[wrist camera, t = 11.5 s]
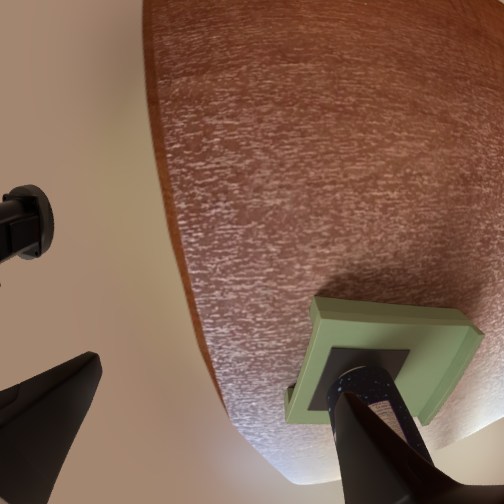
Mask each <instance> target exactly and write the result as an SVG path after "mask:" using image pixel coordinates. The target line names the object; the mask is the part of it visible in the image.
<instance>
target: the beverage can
mask: <svg viewBox="0 0 504 504" xmlns="http://www.w3.org/2000/svg"><path fill="white" fill-rule="evenodd" d="M343 392H354V393H355V394H356V395H357V396H358V397H359V398H360V399H361V400H362V401H363V402H364V403H365V404H366V405H368V406H369V407H370V408H371V409H372V410H373V411H374V412H375V413H376V414H377V415H378V416H379V417H380V418H381V419H382V420H383V421H384V422H385V423H386V424H387V425H388V426H389V427H391V428H392V429H393V430H394V431H395V432H396V433H397V434H398V435H399V436H400V437H401V438H402V439H403V440H404V441H405V442H407V443H408V444H409V445H410V448H411V447H412V448H413V449H414V450H415V451H416V452H417V453H419V454H420V455H421V456H422V457H423V458H424V459H426V460H427V461H428V462H429V463H431V464H432V465H433V466H434V463H433V461H432V459H431V457H430V454H429V452H428V450H427V448H426V445H425V443H424V441H423V439H422V437H421V435H420V433H419V431H418V428H417V426H416V424H415V422H414V420H413V418H412V416H411V414H410V412H409V410H408V408H407V406H406V404H405V402H404V400H403V398H402V396H401V394H400V392H399V390H398V388H397V386H396V384H395V383H394V381H393V379H392V377H391V375H390V373H389V372H388V371H387V370H386V369H384V368H382V367H378V366H362V367H357V368H354V369H351V370H349V371H347V372H345V373H344V374H343V375H341V376H340V377H339V378H338V379H337V380H336V381H335V382H334V383H333V384H332V385H331V387H330V388H329V390H328V392H327V394H326V404H327V408H328V413H329V417H330V422H331V426H332V431H333V436H334V440H335V445H336V431H335V412H334V411H335V406H336V404H337V402H338V400H339V398H340V396H341V394H342V393H343ZM336 450H337V447H336ZM337 455H338V453H337ZM338 460H339V459H338Z"/></svg>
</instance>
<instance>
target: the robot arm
mask: <svg viewBox="0 0 504 504" xmlns="http://www.w3.org/2000/svg"><path fill="white" fill-rule="evenodd" d="M2 199H3V202H2V203H0V264H1V263H3V262H5V261H6V260H8V259H10V258H12V257H14V256H16V255H18V254H24V255H28V256H32V257H36V258H38V257H40V256H41V255H42V250H41V239H40V224H39V198H38V196H37V195H28V194H4V195H3V198H2ZM34 199H35V201H34ZM37 252H38V253H37ZM0 286H1V285H0ZM101 376H102V366H101V362H100V358H99V355H98V354H97V353H94V352H90V351H88V352H86V353H84V354H81V355H79V356H77V357H75V358H73V359H71V360H69V361H67V362H65V363H63V364H60V365H58V366H56V367H54V368H52V369H49V370H47V371H45V372H43V373H41V374H39V375H36V376H34V377H32V378H30V379H28V380H25V381H23V382H21V383H20V384H17V385H14V386H12V387H10V388H8V389H5V390H2V391H0V504H47V503H48V500H49V497H50V495H51V492H52V490H53V487H54V484H55V482H56V479H57V477H58V475H59V472H60V470H61V467H62V465H63V463H64V461H65V458H66V456H67V454H68V451H69V449H70V447H71V445H72V443H73V441H74V438H75V436H76V434H77V432H78V430H79V428H80V426H81V424H82V422H83V420H84V417H85V416H86V414H87V411H88V410H89V407H90V405H91V403H92V400H93V397H94V395H95V392H96V389H97V387H98V384H99V381H100V379H101ZM334 412H335V431H336V447H337V453H338V459H339V465H340V472H341V478H342V484H343V491H344V499H345V504H504V485H487V486H486V485H484V486H483V485H464V484H461V483H459V482H457V481H455V480H453V479H452V478H450V477H449V476H447V475H446V474H444V473H443V472H442V471H440V470H439V469H437V468H436V467H435V466H433V465H432V464H431V463H429V462H428V461H427V460H426V459H424V458H423V457H422V456H421V455H420V454H419V453H417V452H416V451H415V450H414V449H413V448H412V447H411V448H410V445H409V444H408V443H407V442H405V441H404V440H403V439H402V438H401V437H400V436H399V435H398V434H397V433H396V432H395V431H394V430H393V429H392V428H391V427H389V426H388V425H387V424H386V423H385V422H384V421H383V420H382V419H381V418H380V417H379V416H378V415H377V414H376V413H375V412H374V411H373V410H372V409H371V408H370V407H369V406H368V405H366V404H365V403H364V402H363V401H362V400H361V399H360V398H359V397H358V396H357V395H356V394H355V393H354V392H343V393H342V394H341V396H340V398H339V400H338V402H337V404H336V406H335V411H334Z"/></svg>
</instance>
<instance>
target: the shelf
mask: <svg viewBox="0 0 504 504" xmlns="http://www.w3.org/2000/svg"><path fill="white" fill-rule="evenodd" d="M309 314H310V318H311V321H312V325H313V332H312V335H311V338H310V342H309V345H308V348H307V352H306V355H305V358H304V361H303V364H302V367H301V371H300V374H299V377H298V380H297V383H296V386H295V388H287V390H286V393H285V396H284V406H285V419H286V423H287V424H331V422H330V417H329V413H328V408H327V404H326V394H327V392H328V390H329V388H330V387H331V385H332V384H333V383H334V382H335V381H336V380H337V379H338V378H339V377H340V376H341V375H343V374H344V373H345V372H347V371H349V370H351V369H354V368H357V367H362V366H378V367H382V368H384V369H386V370H387V371H388V372H389V373H390V375H391V377H392V379H393V381H394V383H395V384H396V386H397V388H398V390H399V392H400V394H401V396H402V398H403V400H404V402H405V404H406V406H407V408H408V410H409V412H410V414H411V416H412V417H416V416H418V419H419V421H420V423H421V425H422V426H426V425H429V424H430V422H431V421H432V420H433V418H434V417H435V416H436V414H437V413H438V412H439V410H440V409H441V408H442V406H443V405H444V403H445V402H446V400H447V399H448V397H449V396H450V395H451V393H452V391H453V390H454V388H455V387H456V385H457V384H458V382H459V381H460V379H461V377H462V376H463V374H464V372H465V371H466V369H467V367H468V365H469V364H470V362H471V360H472V358H473V357H474V355H475V353H476V351H477V349H478V347H479V345H480V343H481V341H482V339H483V337H484V335H485V334H484V333H483V332H482V331H481V330H480V329H479V328H478V327H477V326H475V324H473V323H472V322H471V321H470V320H469V319H468V318H467V317H466V316H465V315H464V314H463V313H462V312H461V311H460V310H459V309H453V308H437V307H423V306H411V305H398V304H387V303H376V302H366V301H356V300H346V299H337V298H328V297H319V296H313V299H312V303H311V307H310V311H309Z"/></svg>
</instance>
